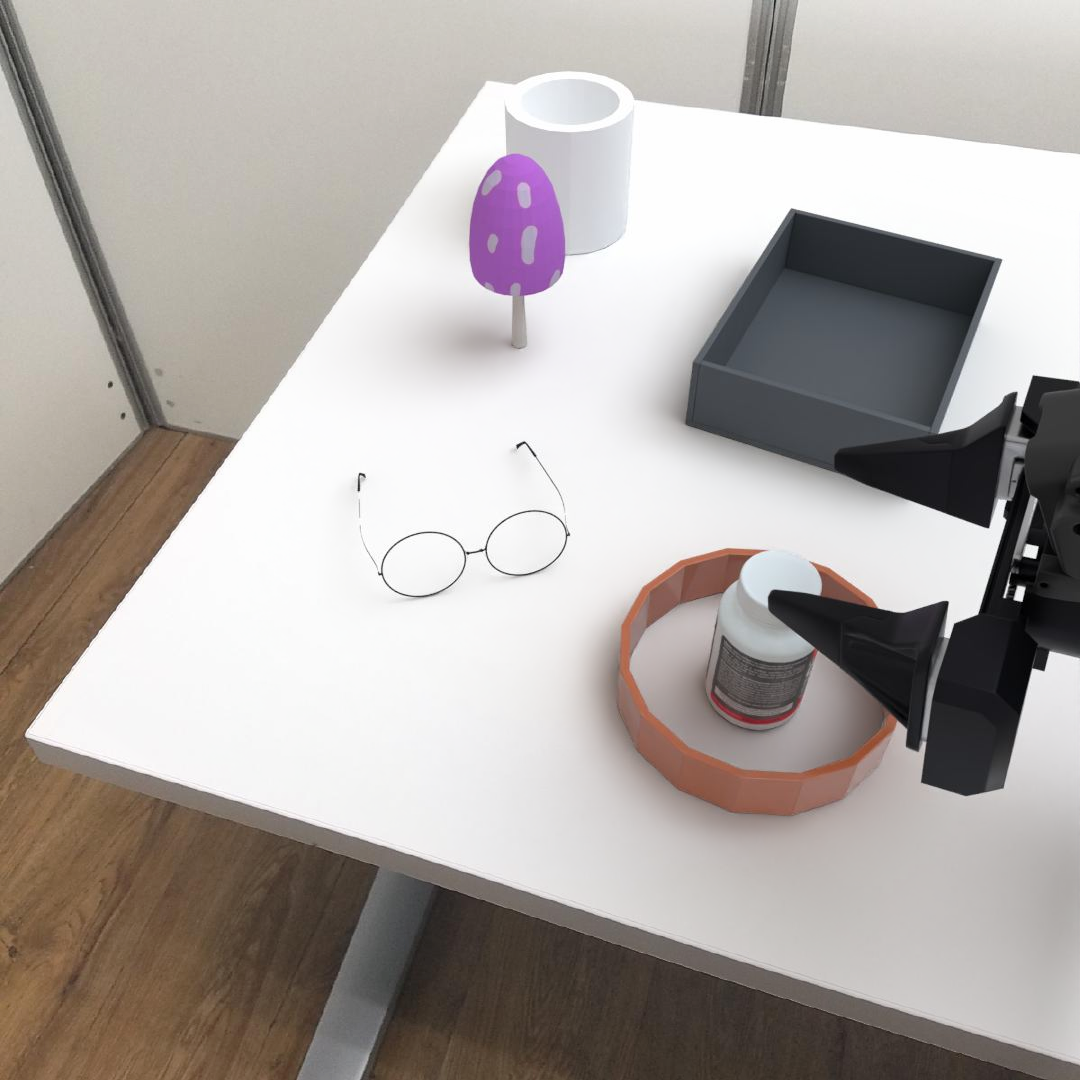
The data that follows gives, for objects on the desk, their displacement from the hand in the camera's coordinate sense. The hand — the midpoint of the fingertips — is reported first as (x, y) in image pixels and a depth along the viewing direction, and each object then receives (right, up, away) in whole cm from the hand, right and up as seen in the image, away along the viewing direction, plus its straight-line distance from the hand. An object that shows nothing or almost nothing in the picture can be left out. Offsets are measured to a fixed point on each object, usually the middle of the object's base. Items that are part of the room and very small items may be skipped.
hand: (803, 525), depth 46 cm
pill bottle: (0, -9, +13) cm, 16 cm away
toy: (-13, +14, +34) cm, 39 cm away
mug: (-9, +27, +46) cm, 54 cm away
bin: (+10, +12, +32) cm, 35 cm away
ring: (0, -9, +13) cm, 16 cm away
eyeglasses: (-17, 0, +22) cm, 27 cm away
